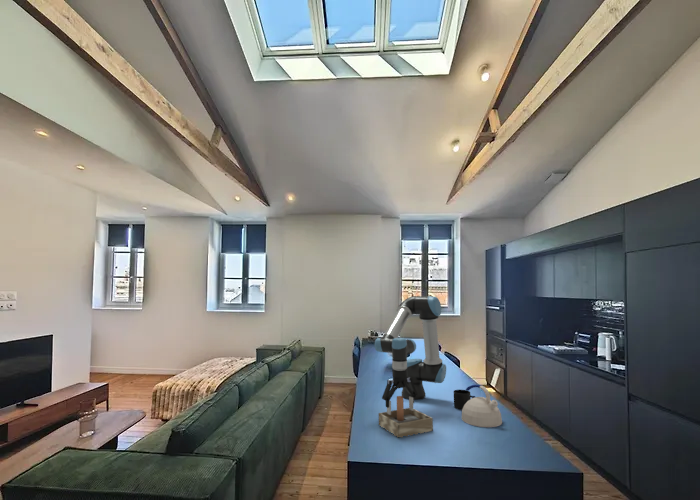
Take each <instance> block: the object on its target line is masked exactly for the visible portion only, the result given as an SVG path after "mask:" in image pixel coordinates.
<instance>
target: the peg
mask: <svg viewBox="0 0 700 500" xmlns="http://www.w3.org/2000/svg"><path fill="white" fill-rule="evenodd" d="M404 409H405V408H404V398H403V396H402V395H397V396H396V410H397V420H398V421H403V420H404Z"/></svg>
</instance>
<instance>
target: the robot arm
mask: <svg viewBox="0 0 700 500" xmlns="http://www.w3.org/2000/svg"><path fill="white" fill-rule="evenodd" d="M441 314H442V304H441V302H440V300H439V298H438V297H437V296H431V295H422V296H421V295H413V296H410V297H407V298H405V299H404V300H403V301H402V302H401V303H399V305H398V307H397V309H396V313H395V315H394V317H393V318H392V320H391V322H390V323H389V326H388V327H387V329H386V331H385V332H384V333H383V336H382V337H377V338H375V341H374V348H375V351H376V352H380V353H388V354H389V353H390V354H391V355H392V356H391V357H392V359H391V361H392V364H391V368H392V373H391V374H392V379H387V380H386V381H387V382H386V386H385V389H384V391H383V394H382V395H381V399H382V400H383V401H385V408H386V412H387V414H389V415H391V411H392V401H391V398H392V397H393V395H394V394H395V393H396V391H397V390H398V389H402V391H401V396H403V399H406V400H408V408H409V410H412V411H413V409H414V404H415V401H417V400H423V399H425V398H426V391H425V388H424V385H423V382H428V383H434V384H442V383H444V381H445V379H446V376H447V365H446V364H445V363H443V359H442V358H440V348H439V337H438V324H437V323H438V322H437V320H438V319H439V317H440V316H441ZM416 315H417V316H418V317H419V318H418V319H420V321H421V322H422V323H421V324H422V333H423V342H424V344H423V345H424V354H425V355H424V356H425V358H424V359H422V358H410V359H408V355H411V354H413V353H414V352H415V351H416V349H417V344H416V342H415V341H414V340H413V339H411V338H409V339H406V338H405V337H399V336H400V334H401V332H402V330H403V329H404V327H405V324H406V323H407V321H408V319H410V318H411V317H412V316H416Z"/></svg>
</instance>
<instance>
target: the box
mask: <svg viewBox="0 0 700 500" xmlns="http://www.w3.org/2000/svg"><path fill="white" fill-rule="evenodd" d="M433 421H434V419H433V417H431V416H429V415H428V414H425V413H424V412H422V411H419V410H417V409H416V408H413V411H412V410H409V407H407V408H404V420H403V421H398V420H397V409H395V410H391V415H389V414H387V411H384V412H378V426H379V425H380V426H381V428H382V427H383V428H385V429H386V430H385V429H384V430H385V431H387V430H388V431H389V432H388V431H387V432H388V433H390V432H391V433H393V434H394V435H393V434H392V435H393V436H395V437H396V436H397V437H396V438H398V437H401V438H404V437H403V436H406V437H409V436H408V435H410V436H414V435H413V434H415V435H419V434H418V433H420V434H425V433H429V432H432V431H433V432H434V422H433ZM380 426H379V427H380ZM383 428H382V429H383ZM424 432H425V433H424ZM391 433H390V434H391Z"/></svg>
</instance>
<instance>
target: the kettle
mask: <svg viewBox="0 0 700 500" xmlns="http://www.w3.org/2000/svg"><path fill="white" fill-rule="evenodd" d="M474 388H479V389H481V390H482V391H483V392H484V394H485V397H484V396H475V395H471V396H472V397H471V399H470V400H469V401H467V402H466V404H465V405H464V407H463V409H462V410H461V420H462V421H463V422H464V424H465V423H466V424H468V425H470V426H474V427H479V428H497V427H499V426H501V425H502V424H503V420H502V412H501V410H500V408H499V407H498V406H499V403H498V401H497V400H496V399H492V400H491V396H490V395H491V394H490V392H489V391H488V389H487V388H486V387H485V386H484V385H480V384H472V385H469V386H467V387H466V388H465V390H467V391H470V390H472V389H474ZM473 397H474V398H473Z"/></svg>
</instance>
